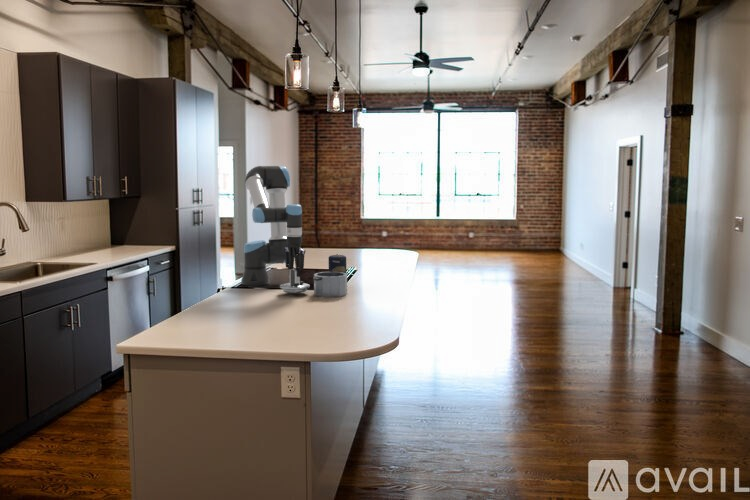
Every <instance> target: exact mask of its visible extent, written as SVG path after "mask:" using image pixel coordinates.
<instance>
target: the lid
mask: <svg viewBox="0 0 750 500" xmlns="http://www.w3.org/2000/svg"><path fill="white" fill-rule="evenodd" d="M295 269H296V268H294V269H293V270H290V275H289V282H286V283H282V284H280V285H279V288H280V289H282V292H283V293H287V294H301V293H305V292H307V290H308V289H309V288H311V285H310V284H308V283H305V282H304V281H302V280H300V283H295ZM290 282H291V283H290Z"/></svg>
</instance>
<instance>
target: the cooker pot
mask: <svg viewBox="0 0 750 500" xmlns="http://www.w3.org/2000/svg"><path fill="white" fill-rule="evenodd" d="M312 281H313V295H315V296H316V297H321V298H338V297H344V296H346V295H348V272H347V273H342V272H329V271H321V272H316V273H314V274H313V278H312Z"/></svg>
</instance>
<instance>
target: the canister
mask: <svg viewBox="0 0 750 500" xmlns="http://www.w3.org/2000/svg"><path fill="white" fill-rule="evenodd" d="M347 271H348V270H347V256H346V255H343V254H337V253H336V254H332V255H329V256H328V272H342V273H347V274H348V272H347Z"/></svg>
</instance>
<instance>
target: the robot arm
mask: <svg viewBox="0 0 750 500" xmlns="http://www.w3.org/2000/svg"><path fill="white" fill-rule="evenodd" d="M244 184H245V187H246V189H247V190H248V191H249V194H250V199H251V201H252V203H253V207H254V208H252V213H251V214H252V215H251V216H252V221H253V222H254V223H255V224H256V223H257V224H267V223H270V237H269V239H268V242H266V240H262V239H261V240H254V241H248V242H246V243H244V245H243V259H244V260H243V261H244V262H243V266H244V270H243V274H242V278H241V283H240V284H241V285H242V286H249V287H250V286H252V287H255V286H259V287H260V286H266V285H268V284H270V277H269V275H268V271H267V265H273V264H274V265H275V264H276V265H278V264H285V268H287V269H288V276H290V270H293V269H295V283H300V281H301V271H302V270H304V269H305V267H304V266H305V253H306V249H303V248H302V243H303V236H302V235H303V226H302V225H303V209H302V205H301V204H297V203H296V204H294V203H292V204H287V205H286V197H285V194H286V192H287V191H288V188H289V187H290V186H291V176H290V172H289V169H288V168H287V167H286V166H281V165H258V166H254V167H253V168H251V169H250V170H249V171H248V172H247V173H246V175H245V177H244ZM265 191H266V192H267V193H268V196H269V197H267V195H266V192H265ZM268 199H269V201H268ZM294 265H295V267H294ZM289 283H291V282H290V281H289Z"/></svg>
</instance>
